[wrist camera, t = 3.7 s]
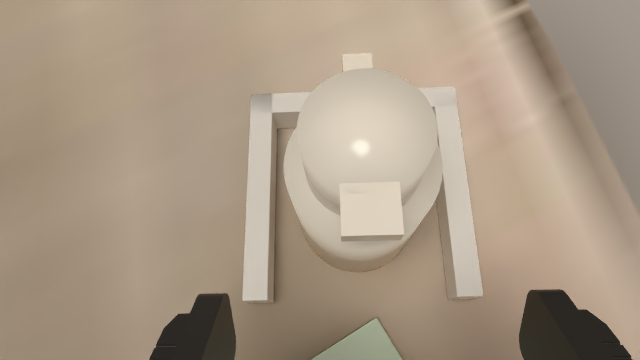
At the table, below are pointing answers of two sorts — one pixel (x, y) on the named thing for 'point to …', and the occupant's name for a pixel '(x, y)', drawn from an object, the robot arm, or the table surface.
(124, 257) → the table surface
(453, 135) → the holder
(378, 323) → the mat
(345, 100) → the figurine
